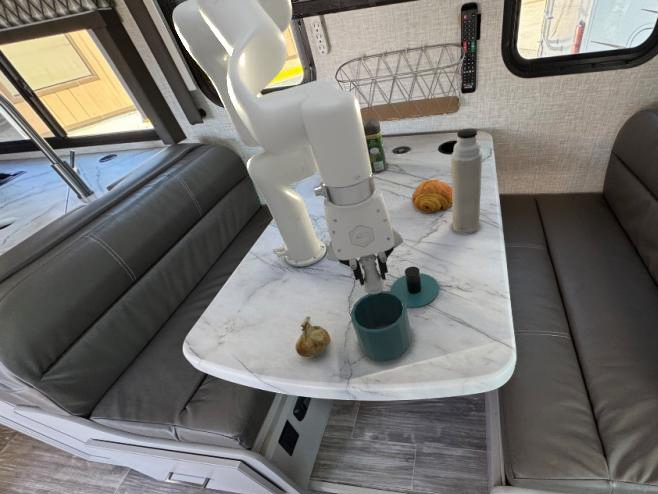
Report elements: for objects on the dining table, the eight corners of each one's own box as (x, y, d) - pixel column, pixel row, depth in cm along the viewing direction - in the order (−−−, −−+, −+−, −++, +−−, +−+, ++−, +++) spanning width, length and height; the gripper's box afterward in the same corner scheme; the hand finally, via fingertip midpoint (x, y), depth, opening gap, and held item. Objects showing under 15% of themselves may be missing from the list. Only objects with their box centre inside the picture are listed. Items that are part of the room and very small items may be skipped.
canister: (365, 368, 71) (354, 338, 64) (358, 329, 79) (348, 298, 72) (416, 355, 72) (411, 323, 65) (405, 317, 80) (399, 285, 73)
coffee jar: (368, 164, 146) (359, 118, 133) (386, 162, 145) (379, 115, 132) (368, 174, 139) (358, 127, 126) (387, 171, 138) (379, 123, 125)
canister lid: (396, 314, 81) (392, 294, 76) (387, 282, 90) (382, 261, 85) (445, 302, 82) (444, 281, 77) (431, 271, 91) (429, 250, 86)
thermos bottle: (447, 229, 104) (444, 134, 84) (461, 217, 107) (461, 123, 88) (470, 236, 99) (472, 139, 80) (484, 223, 103) (489, 127, 84)
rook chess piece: (366, 298, 63) (356, 265, 57) (361, 283, 66) (352, 251, 61) (388, 291, 64) (381, 258, 58) (383, 277, 67) (376, 244, 61)
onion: (292, 356, 76) (279, 334, 71) (316, 332, 80) (306, 309, 75) (316, 370, 73) (304, 348, 67) (340, 344, 77) (330, 321, 71)
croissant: (409, 218, 115) (404, 198, 109) (421, 190, 123) (417, 170, 117) (450, 219, 110) (448, 199, 104) (460, 190, 118) (458, 170, 112)
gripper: (295, 211, 47) (330, 302, 60) (408, 186, 48) (419, 280, 61) (295, 188, 52) (328, 276, 65) (397, 165, 53) (410, 256, 66)
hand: (372, 277), depth 63 cm, fingers closed on rook chess piece, 3 cm apart
